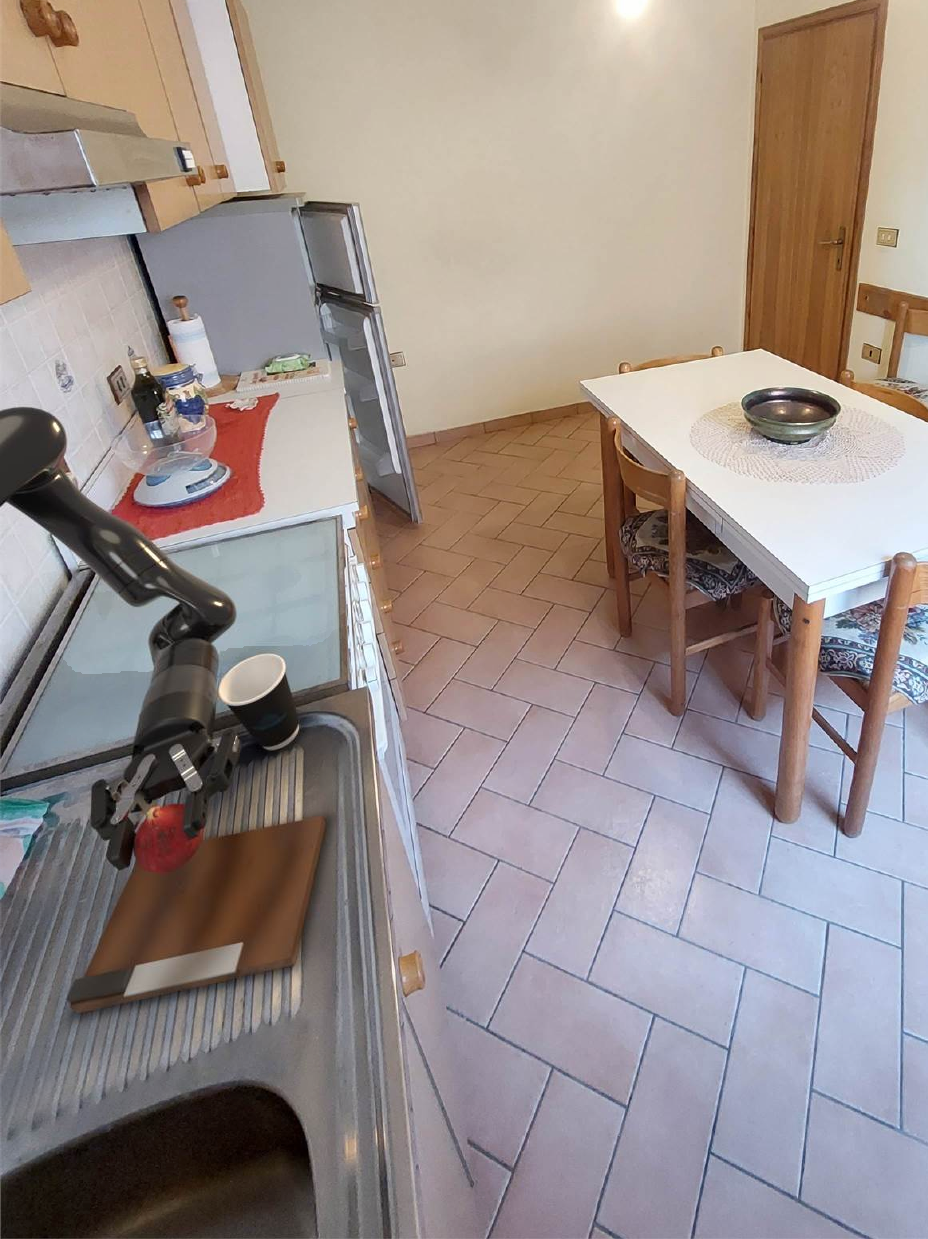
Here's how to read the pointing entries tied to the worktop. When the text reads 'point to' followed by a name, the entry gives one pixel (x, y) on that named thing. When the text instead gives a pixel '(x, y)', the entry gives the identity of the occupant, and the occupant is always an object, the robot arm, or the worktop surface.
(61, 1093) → the worktop surface
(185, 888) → the cutting board
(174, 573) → the robot arm
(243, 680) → the dixie cup
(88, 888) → the worktop surface
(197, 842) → the onion
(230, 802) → the worktop surface
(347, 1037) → the worktop surface
